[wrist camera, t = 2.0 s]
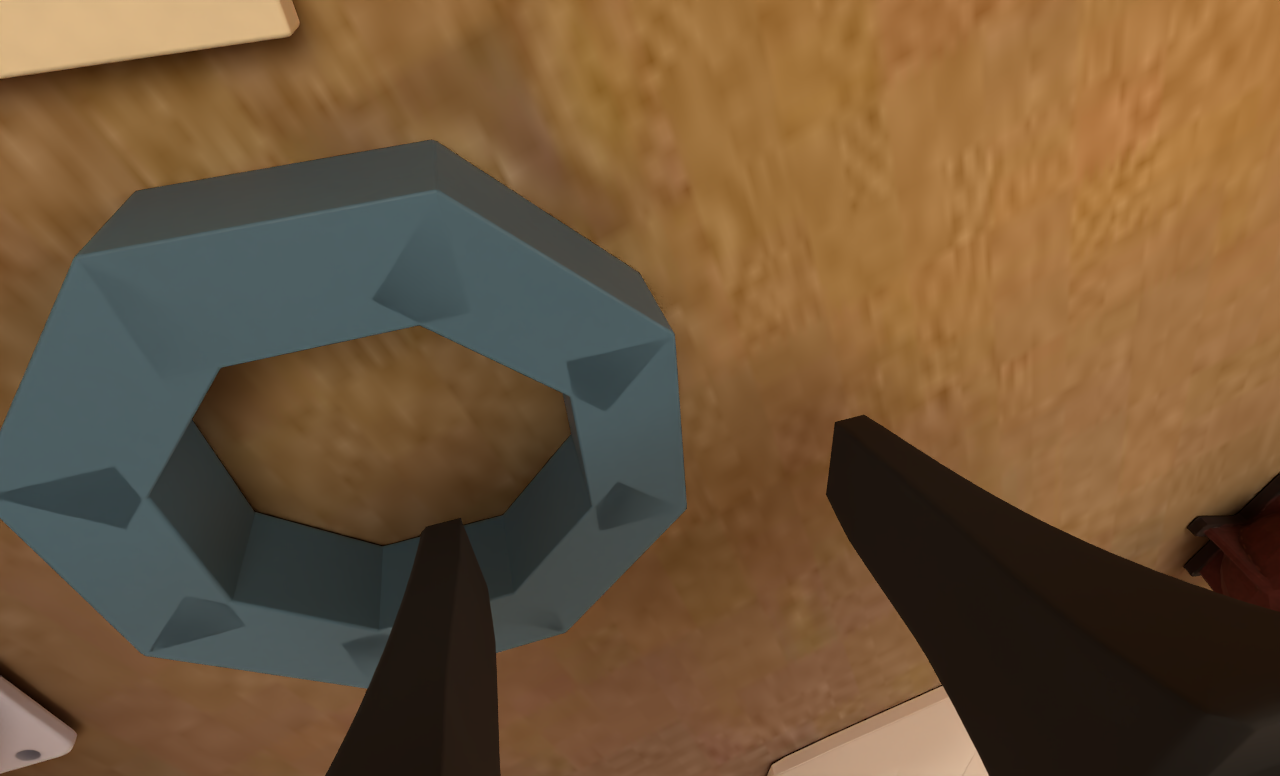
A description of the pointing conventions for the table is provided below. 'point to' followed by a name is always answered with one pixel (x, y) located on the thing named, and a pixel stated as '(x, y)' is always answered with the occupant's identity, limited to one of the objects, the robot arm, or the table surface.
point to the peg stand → (129, 30)
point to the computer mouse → (893, 745)
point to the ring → (308, 318)
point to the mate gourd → (1243, 551)
